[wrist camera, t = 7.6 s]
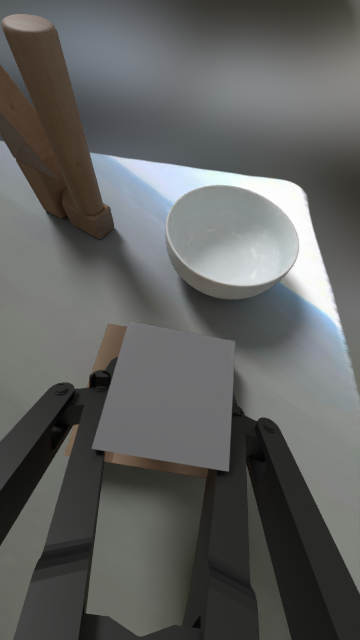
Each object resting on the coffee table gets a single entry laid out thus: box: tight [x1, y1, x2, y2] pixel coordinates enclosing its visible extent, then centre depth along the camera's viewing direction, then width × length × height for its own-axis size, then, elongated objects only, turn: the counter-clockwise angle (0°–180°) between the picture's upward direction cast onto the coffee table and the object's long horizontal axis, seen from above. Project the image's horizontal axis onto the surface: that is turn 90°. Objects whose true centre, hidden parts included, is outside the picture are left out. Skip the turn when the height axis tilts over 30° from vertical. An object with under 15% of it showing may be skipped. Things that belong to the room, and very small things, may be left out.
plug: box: [92, 321, 235, 472], centre depth 15 cm, size 5×5×14 cm
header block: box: [64, 324, 208, 478], centre depth 20 cm, size 14×12×4 cm
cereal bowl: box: [165, 185, 299, 300], centre depth 27 cm, size 17×17×7 cm
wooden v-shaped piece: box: [0, 14, 114, 240], centre depth 22 cm, size 4×11×18 cm, turn 61°
